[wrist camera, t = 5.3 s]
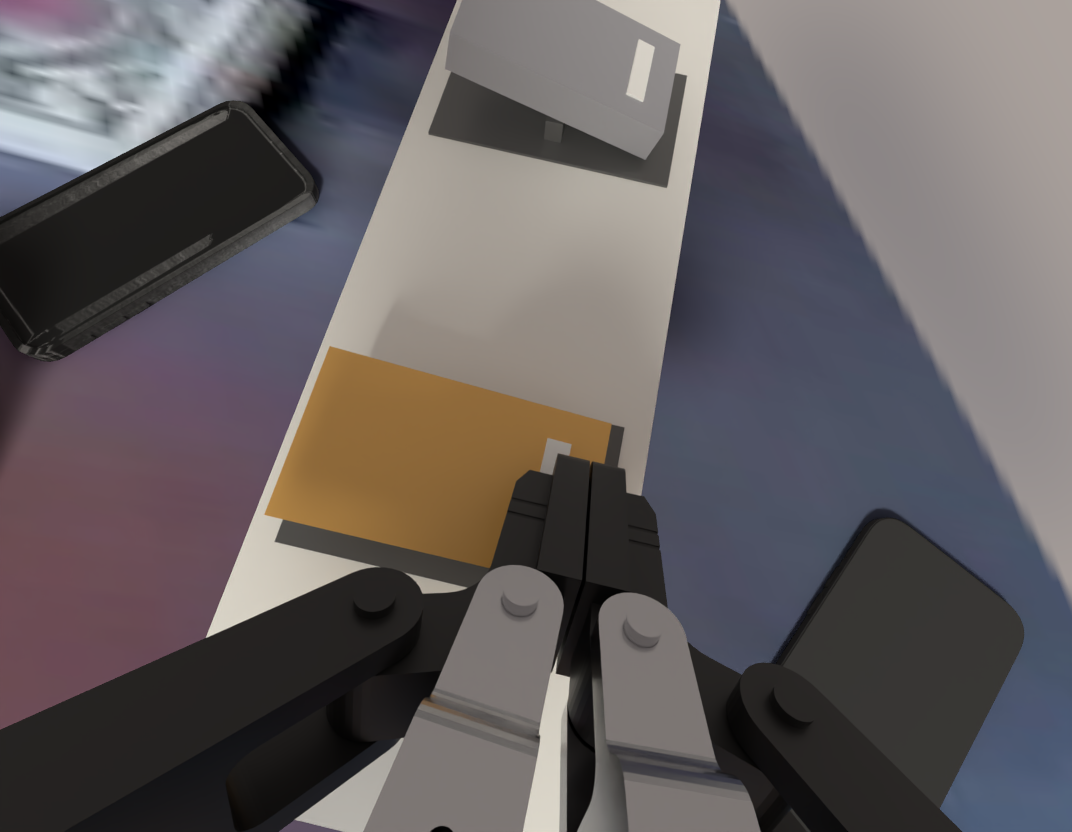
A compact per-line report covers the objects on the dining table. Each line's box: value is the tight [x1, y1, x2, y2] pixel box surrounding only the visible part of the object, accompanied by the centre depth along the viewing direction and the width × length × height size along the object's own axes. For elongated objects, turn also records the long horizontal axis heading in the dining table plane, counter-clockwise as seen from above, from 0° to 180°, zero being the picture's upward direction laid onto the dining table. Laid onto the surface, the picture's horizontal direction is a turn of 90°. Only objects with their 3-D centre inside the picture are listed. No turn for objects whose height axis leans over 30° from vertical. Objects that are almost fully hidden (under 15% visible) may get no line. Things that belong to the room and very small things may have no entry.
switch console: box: [206, 0, 720, 832], centre depth 19 cm, size 10×30×9 cm, turn 167°
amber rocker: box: [264, 346, 612, 568], centre depth 12 cm, size 7×4×1 cm, turn 77°
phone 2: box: [0, 101, 319, 362], centre depth 24 cm, size 8×1×15 cm
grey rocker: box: [445, 0, 681, 160], centre depth 16 cm, size 7×4×1 cm, turn 77°
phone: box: [776, 518, 1024, 832], centre depth 20 cm, size 7×1×15 cm
